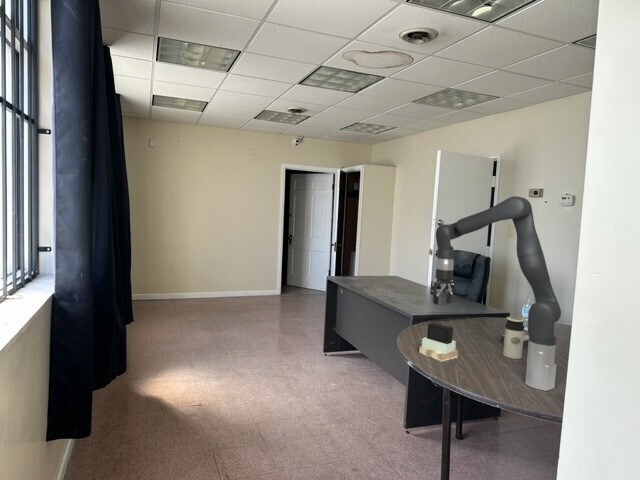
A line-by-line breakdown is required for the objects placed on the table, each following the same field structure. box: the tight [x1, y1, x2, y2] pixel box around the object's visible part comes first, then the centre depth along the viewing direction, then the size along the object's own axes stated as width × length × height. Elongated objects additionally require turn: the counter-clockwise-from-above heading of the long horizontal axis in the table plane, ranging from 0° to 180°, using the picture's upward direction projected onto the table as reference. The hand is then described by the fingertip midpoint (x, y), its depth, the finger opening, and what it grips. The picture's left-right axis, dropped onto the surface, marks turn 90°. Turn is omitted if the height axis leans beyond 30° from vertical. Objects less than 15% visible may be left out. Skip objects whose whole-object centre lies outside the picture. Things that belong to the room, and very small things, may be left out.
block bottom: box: [418, 345, 459, 363], centre depth 193 cm, size 13×11×4 cm
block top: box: [421, 336, 457, 354], centre depth 193 cm, size 12×9×4 cm
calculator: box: [500, 334, 529, 348], centre depth 218 cm, size 11×4×15 cm
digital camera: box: [426, 322, 454, 344], centre depth 192 cm, size 10×5×7 cm, turn 44°
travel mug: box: [502, 316, 525, 360], centre depth 195 cm, size 8×8×18 cm
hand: (442, 303), depth 191 cm, fingers open, 8 cm apart
